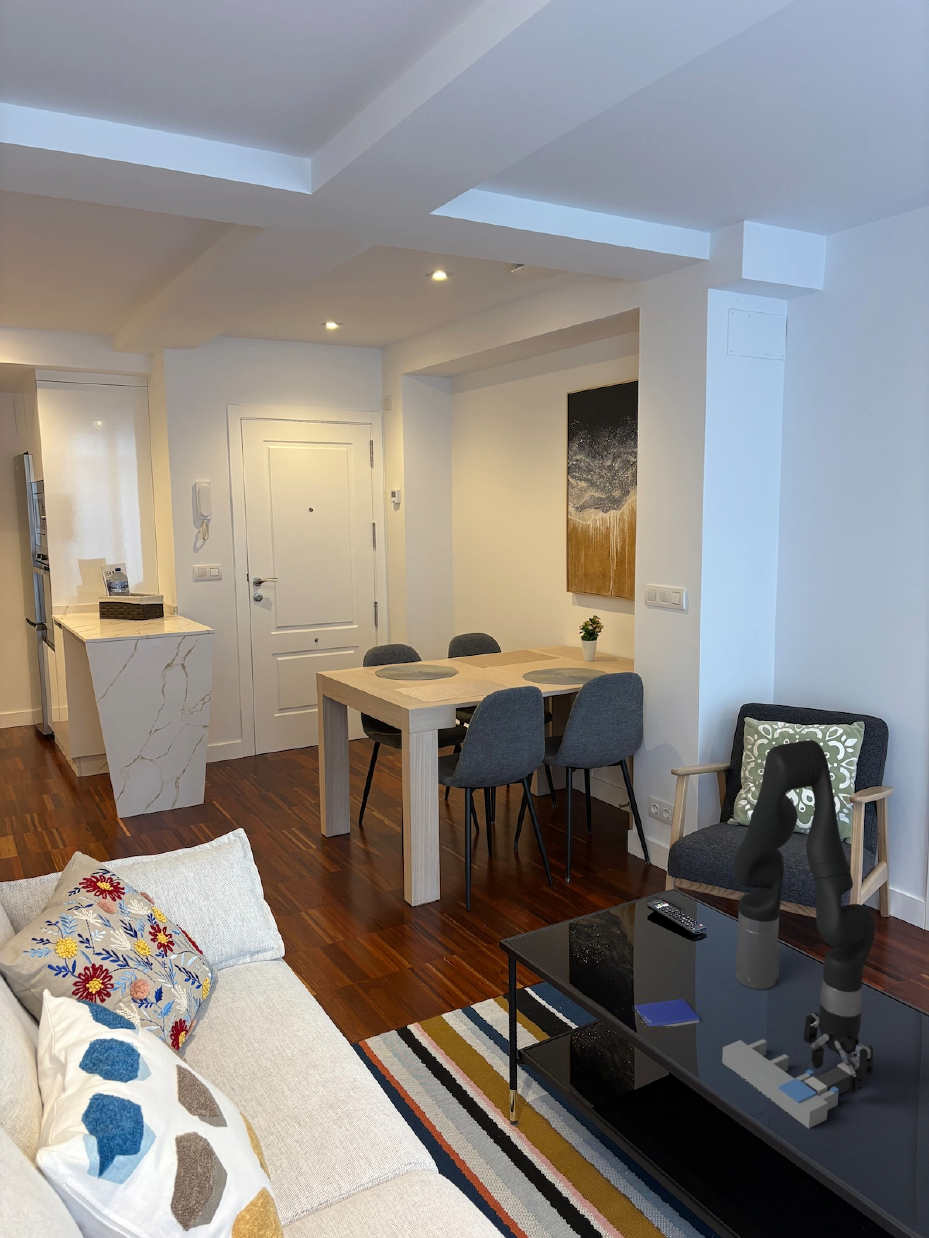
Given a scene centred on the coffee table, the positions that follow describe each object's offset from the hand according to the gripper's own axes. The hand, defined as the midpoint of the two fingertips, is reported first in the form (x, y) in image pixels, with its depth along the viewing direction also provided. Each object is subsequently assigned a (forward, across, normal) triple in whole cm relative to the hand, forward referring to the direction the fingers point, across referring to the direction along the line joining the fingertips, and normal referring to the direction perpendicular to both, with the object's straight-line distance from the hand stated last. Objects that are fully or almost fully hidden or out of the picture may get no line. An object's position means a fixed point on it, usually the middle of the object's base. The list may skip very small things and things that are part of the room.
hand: (835, 1078), depth 179 cm
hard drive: (+3, +35, +12) cm, 38 cm away
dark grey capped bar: (+2, 0, +1) cm, 3 cm away
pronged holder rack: (+2, +6, +8) cm, 10 cm away
